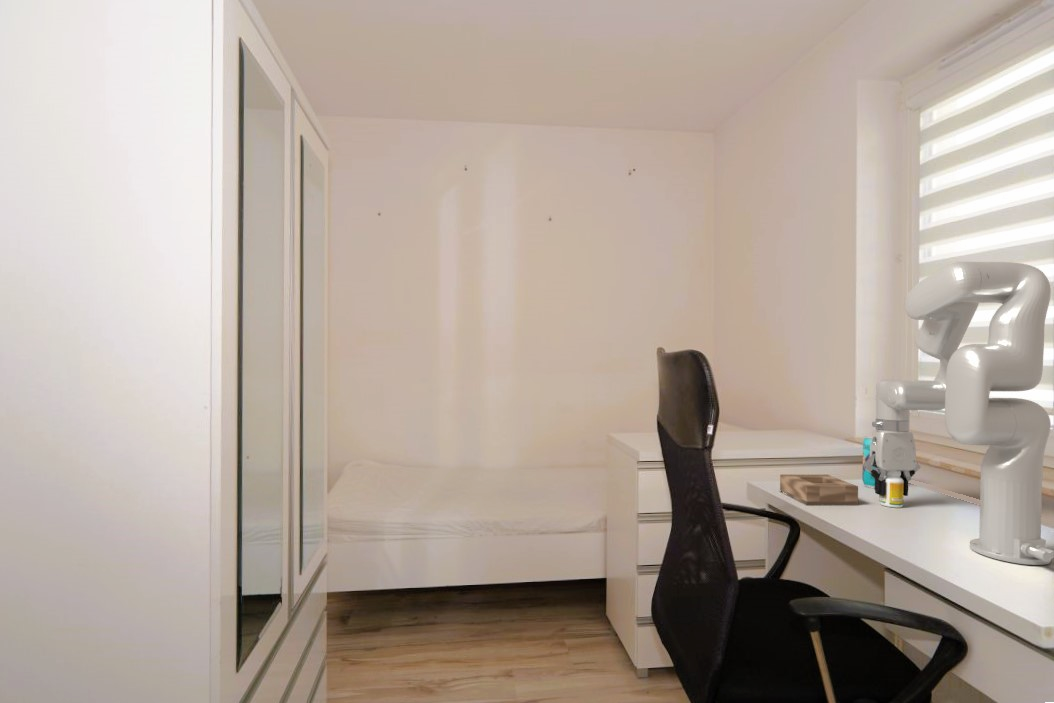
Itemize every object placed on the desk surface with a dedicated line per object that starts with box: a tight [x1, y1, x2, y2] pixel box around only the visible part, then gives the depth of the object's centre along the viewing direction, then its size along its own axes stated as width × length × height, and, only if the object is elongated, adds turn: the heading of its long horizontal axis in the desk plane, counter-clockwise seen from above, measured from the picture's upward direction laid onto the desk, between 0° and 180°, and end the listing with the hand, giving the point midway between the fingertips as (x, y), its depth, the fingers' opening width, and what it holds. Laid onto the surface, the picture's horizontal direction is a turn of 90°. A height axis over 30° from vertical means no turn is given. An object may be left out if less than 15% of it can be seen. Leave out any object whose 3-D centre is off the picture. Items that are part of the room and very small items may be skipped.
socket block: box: [779, 474, 859, 506], centre depth 158 cm, size 14×14×5 cm
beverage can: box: [861, 435, 875, 489], centre depth 172 cm, size 6×6×15 cm
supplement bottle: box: [878, 470, 904, 509], centre depth 152 cm, size 5×5×10 cm
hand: (891, 493), depth 152 cm, fingers closed on supplement bottle, 5 cm apart
